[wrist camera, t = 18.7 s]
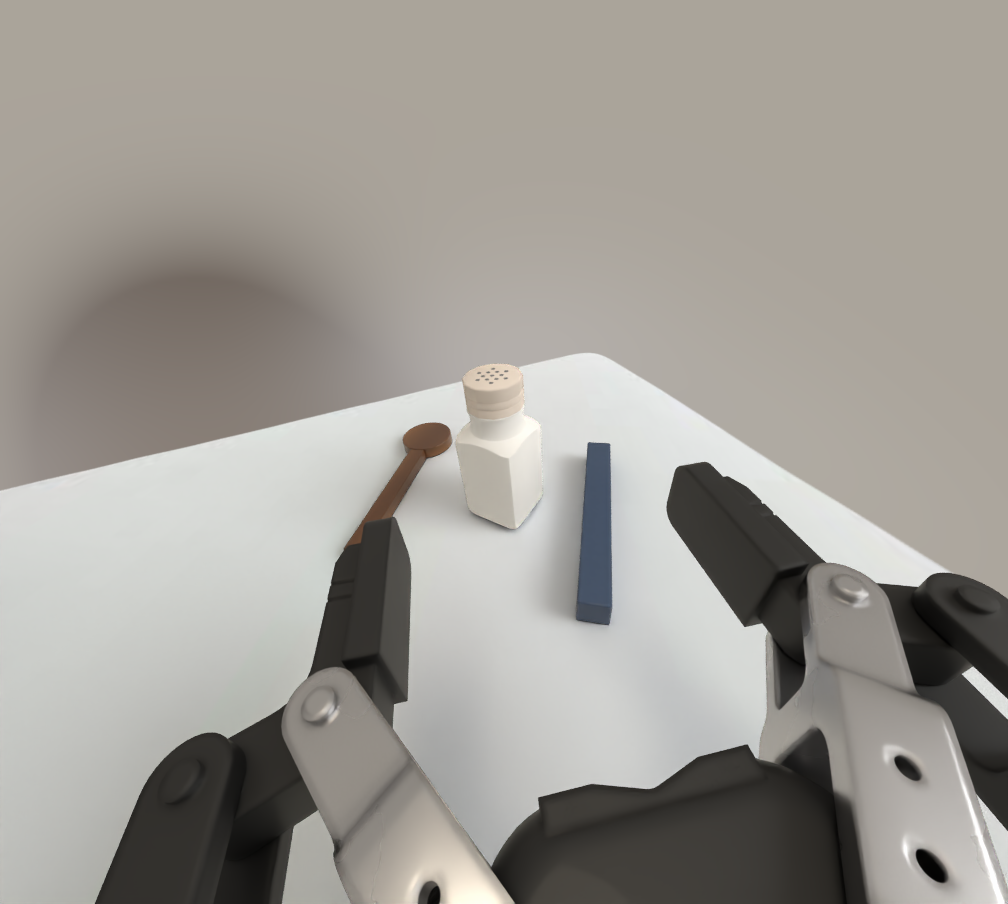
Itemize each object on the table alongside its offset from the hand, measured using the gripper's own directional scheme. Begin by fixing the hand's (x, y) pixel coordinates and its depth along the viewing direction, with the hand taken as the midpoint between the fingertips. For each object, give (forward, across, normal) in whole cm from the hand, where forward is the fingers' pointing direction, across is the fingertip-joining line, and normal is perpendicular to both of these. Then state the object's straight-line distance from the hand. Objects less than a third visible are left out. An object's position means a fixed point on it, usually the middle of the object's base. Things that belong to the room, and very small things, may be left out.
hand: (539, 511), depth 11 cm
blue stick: (+8, -5, +10) cm, 14 cm away
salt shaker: (+11, 0, +10) cm, 15 cm away
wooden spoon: (+15, +7, +10) cm, 19 cm away
